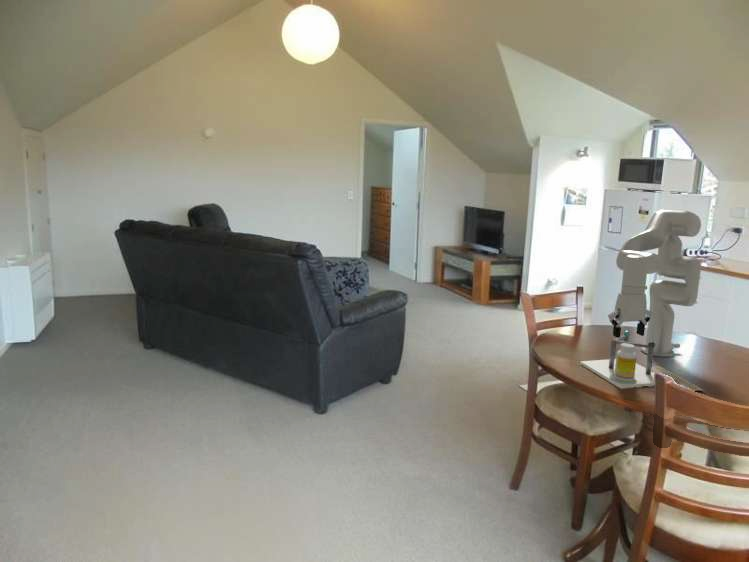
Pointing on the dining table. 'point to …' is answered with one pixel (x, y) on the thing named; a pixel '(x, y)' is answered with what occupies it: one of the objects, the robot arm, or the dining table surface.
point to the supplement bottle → (625, 362)
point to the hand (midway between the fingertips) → (628, 335)
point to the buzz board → (608, 374)
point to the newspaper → (676, 378)
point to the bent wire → (626, 338)
